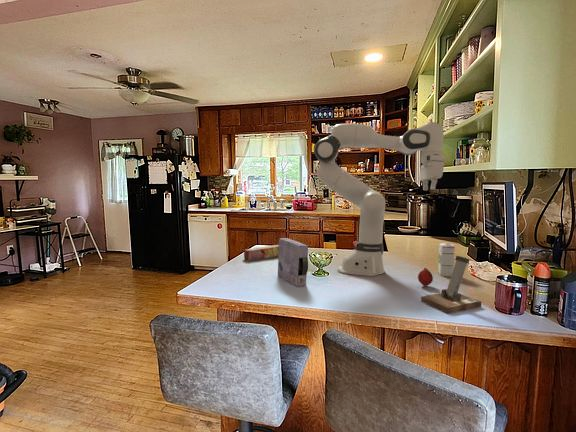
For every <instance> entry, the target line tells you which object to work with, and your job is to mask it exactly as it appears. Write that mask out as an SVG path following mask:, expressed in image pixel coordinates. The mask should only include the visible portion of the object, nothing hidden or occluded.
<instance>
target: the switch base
mask: <svg viewBox="0 0 576 432" xmlns="http://www.w3.org/2000/svg"><path fill="white" fill-rule="evenodd" d="M446 291H447V288H445V289H441V292H439V293H434V294H428V295H421V297H420V302H421V303H422V304H425V305H427V306H430V307H432V308H433V309H435V310H439V311H441V312H443V313H445V314H447V315H449V314H453V313H457V312H463V311H468V310H473V309H478V308H482V301H481V300H479V299H476V298H474V297H470V296H468V295H465V294H462V293H460V292H458V293H457V294H454V298H453V299H452V298H449V297H447V296H446Z"/></svg>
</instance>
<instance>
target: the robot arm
mask: <svg viewBox="0 0 576 432" xmlns="http://www.w3.org/2000/svg"><path fill="white" fill-rule="evenodd" d="M444 132H445V131H444V127H443V126H442V124H440V123H438V122H426V123H425V124H423V125H421V126H419V127H416V128H412V129H409V130H407V131H406V132H404V134H403V135H401V136H395V135H393V136H392V135H385V134H384V135H383V134H382V133H381V134H380V133H378V132H377V131H376V130H375V129H374V128H373V127H372V126H370V125H366V124H364V123H363V124H362V123H349V122H348V123H338V124H335V125H334V126H333V128H332V130H331V132H330V135H327V136H326V137H324V138H321V139H319V140H318V141H317V142H316V144H315V146H314V148H313V153H314V155H315V157H316V160H317V161H319V166H318V167H317V170H316V178H317V179H318V180H319V181H321V182H322V183H323V185H324V186H326V187H327V188H329V189H330V190H332V191H333V192H335V193H336V194H337V195H339V196H341V197H342V198H344V199H345V200H346V201H348V202H350V203H352V205H354V206H356V207H358V208H360V213H359V215H360V216H359V224H358V225H359V226H358V227H359V228H358V229H359V230H358V241H356V240H355V241H354V240H353V242H352V243H353V244H352V245H353V246H354V249H352V250H350V252H348V253H347V254H345V255H344V257H343V259H342V262H341V263H342V264H341V263H340V264H338V266H337V272H338V273H340V274H346V275H358V276H366V277H374V276H377V275H381V274H382V275H383V274H385V273H386V271H385V266H384V260H383V254H384V242H383V233H384V221H385V214H386V199H385V197H384V196H383V194H381V192H378V191H376V190H374V189H373V188H371V187H370V186H369V185H367V184H365V182H363V181H361V180H360V179H359V178H357V177H355V176H354V175H352V174H351V173H349V172H348V171H346V170H345V169H343V168H342V167H340V166H339V165H338V164H337V162H336V159H337V157H338V155H339V150H341V149H342V148H354V149H370V148H372V149H373V148H375V149H384V150H385V149H386V150H393V151H397V152H399V153H401V154H402V155H404V156H412V155H414V154H416V153H417V152H418V151H421V156H420V163H421V166H420V168H419V169H420V170H419V177H418V178H419V182H420V181H421V182H422V190H423V191H428V190H429V189H430V190H436V189H437V188H436V186H437V183H438V179H441V178H442V177H443V174H444V166H445V162H446V156H445V155H443V153H444V152H443V145H444ZM429 181H431V183H430V187H429V186H428V185H429Z"/></svg>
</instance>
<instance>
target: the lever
mask: <svg viewBox="0 0 576 432" xmlns="http://www.w3.org/2000/svg"><path fill="white" fill-rule="evenodd" d="M454 261H455V262H454V270H453V273H452V276H450V279H449V282H448V286H447V288H446V289H447V291H446V296H447V297H449V298H452V299H453V298H454V294H457V293H459V290H460V287H461V283H462V279H463V277H464V274H465V270H466V268H467V265H468V264H469V262H470V258H466V257H464V256H459V255H456V256H455V258H454Z"/></svg>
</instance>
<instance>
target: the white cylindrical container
mask: <svg viewBox="0 0 576 432" xmlns="http://www.w3.org/2000/svg"><path fill="white" fill-rule="evenodd" d="M455 247H456V246H455V245H454V244H453V243H445V242H444V243H443V242H442V243H439V246H438V248H439V249H438V263H437V264H438V265H437V266H438V267H437V269H438V270H437V273H438V274H439V275H440V276H441V277H451V276H452V273H453V270H454V266H455V250H456V249H455Z"/></svg>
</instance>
